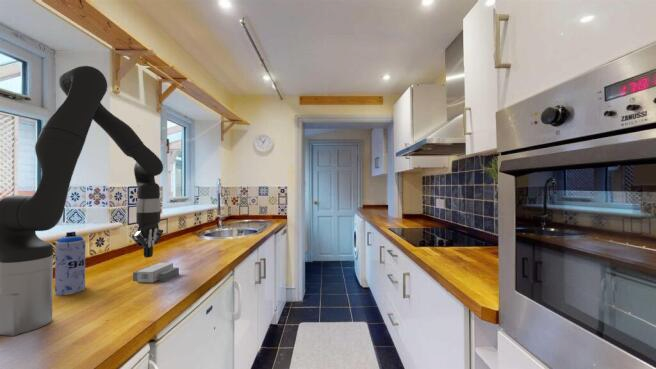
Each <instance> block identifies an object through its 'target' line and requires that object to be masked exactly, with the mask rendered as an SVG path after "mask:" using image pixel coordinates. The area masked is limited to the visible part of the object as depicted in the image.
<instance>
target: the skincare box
mask: <svg viewBox="0 0 656 369" xmlns="http://www.w3.org/2000/svg"><path fill="white" fill-rule="evenodd" d="M149 266H150V267H149ZM149 266H147V267H148V268H147V267H145V269H144V268H142V269H143V270H141V269H139V270H140V271H138V270H137V271H138V272H137V283H148V284H149V283H151V284H152V283H155V282H157V281H160V273H162V272H165V271H167V270H169V269H172V268H174V263H173V262H158V263H156V264H154V265H149Z"/></svg>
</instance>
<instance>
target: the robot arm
mask: <svg viewBox="0 0 656 369" xmlns="http://www.w3.org/2000/svg"><path fill="white" fill-rule="evenodd" d="M58 85H59V88H60V90H61V91H62V92H63V93H64V94H65V96H66V98H65V100H64V101H63V102H62V103H61V105H59V107H58V108H57V109H56V110H55V111H54V112H53V113H52V114H51V116H50V117H49V118H48V119H47V121H46V122H45V123H44V125H43V126H42V129H41V131H40V133H39V134H38V137H37V139H36V141H35V146H34V152H35V155H36V159H37V161H38V164H39V167H40V169H41V176H40V181H39V184H38V186H37V189H36V191H35V192H34V194H13V195H8V196H4V197H3V198H1V199H0V336H11V337H14V336H17V335H19V334H23V333H26V332H27V333H28V332H31V331H34V330H37V329H39V328H40V329H41V327H44V326H46V325H48V324H50V323H51V322H52V321H53V294H54V293H53V292H54V291H53V290H54V288H53V285H54V284H53V280H54V279H53V277H54V276H53V275H54V269H53V268H54V247H53V246H54V245H53V244H52V243H50V242H47V241H45V240H43V239H41V238H39V236H38V235H37V232H45V231H49V230H51V229H53V228H54V227H56V226H57V225H58V223H60V220H61V219H62V217H63V215H64V214H63V213H64V211H65V206H66V203H67V198H68V193H69V189H70V185H71V181H72V179H73V178H72V177H73V175H74V172H75V169H76V166H77V164H78V161H79V157H80V155H81V153H82V151H83V148H84V145H85V142H86V140H87V136H88V133H89V131H90V128H91V126H92V122H93V121H94V122H95V123H96V124H97V125H98V126H99V127H100V128H101V129H102V130H103V131H104V132H105V134H107V135H108V136H109V137H110V139H111V140H112V141H113V142H114V143H115V145H116V146H117V147H118V148H119V149H120V150H121V152H122V153H123V154H124V155H125V156H126V157H129V158H132V159H133V160H134V161H135V163H134V167H133V173H134V179H135V182H136V186H137V191H136V192H137V194H136V195H137V199H136V200H137V201H136V212H135V213H136V214H135V215H136V217H135V219H136V222H135V223H136V224H137V225H138V227H137V232H136V233H135V234H132V235H131V238H132V239H133V241H134V242H135V243H136V245H138V247H139V248H140V247H141V248H143V257H144V258H145V259H146V258H151V257H153V254H154V246H155V245H156V244H158V242H159V240H160V238H161V237H162V234H163V233H164V230H163V229H161V228H160V225H159V224H160V223H161V199H160V197H161V194H160V193H161V192H160V191H161V190H160V189H161V188H160V185H159V184H158V183H157V182H156V178H155V176H159V175H161V174H162V173H163V171H164V164H163V162H162V160H161V159H160V158H159V156H158V155H156V153H155V152H153V151H152V150H151V149H150V148H149V147H148V146H146V145H145V143H144V142H143V141H142V139H141V138H140V137H139V136H138V134H137V133H136V131H134V129H133V128H132V127H131V126H130V125H129V124H127V123H126V122H125V121H123V120H122V119H120V118H118V117H117V116H116V115H114V114H113V113H112V112H110V111H109V110H108V109H107V108H106V107H105V106H104V105H103V104H102V101H103V98H104V97H105V95H106V94H107V91H108V80H107V79H106V76H105V74H103V72H102V71H101V70H99V69H98V68H96V67H94V66H89V65H82V66H80V65H79V66H77V67H75V68H73V69H70V70H68V71H66V72H63V73H62V74H61V75H60V76H59V77H58Z"/></svg>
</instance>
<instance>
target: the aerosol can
mask: <svg viewBox="0 0 656 369" xmlns="http://www.w3.org/2000/svg"><path fill="white" fill-rule="evenodd" d="M57 240H58V241H56V243H55V245H54V246H55V252H54V253H55V255H54V257H55V260H54V261H55V262H54V268H55V269H54V270H55V271H54V291H53V292H54V293H53V294H54V295H55V296H66V295H67V296H68V295H72V294H76V293H79V292H83V291H84V290H86V289H85V288H87V287H86V240H85V238H84V237H82V236H80V235H79V234H77V233H76V231H69V232H66V234H65V236H63V237H61V238H59V239H57ZM82 290H83V291H82Z"/></svg>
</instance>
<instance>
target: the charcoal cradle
mask: <svg viewBox="0 0 656 369" xmlns="http://www.w3.org/2000/svg"><path fill="white" fill-rule="evenodd" d="M150 266H151V265H149V266H147V267H145V268H148V267H150ZM145 268H141V269H139V270H136V271H133V272H132V281H137V272H138V271H140V270H143V269H145ZM179 273H180V268H179V267H174V266H173V268H172V269H169V270H167V271H165V272H162V273H160V279H159V283H165V282H168V281H170V280H171V279H173V278H176V277H178V276H179V275H180V274H179Z"/></svg>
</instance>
